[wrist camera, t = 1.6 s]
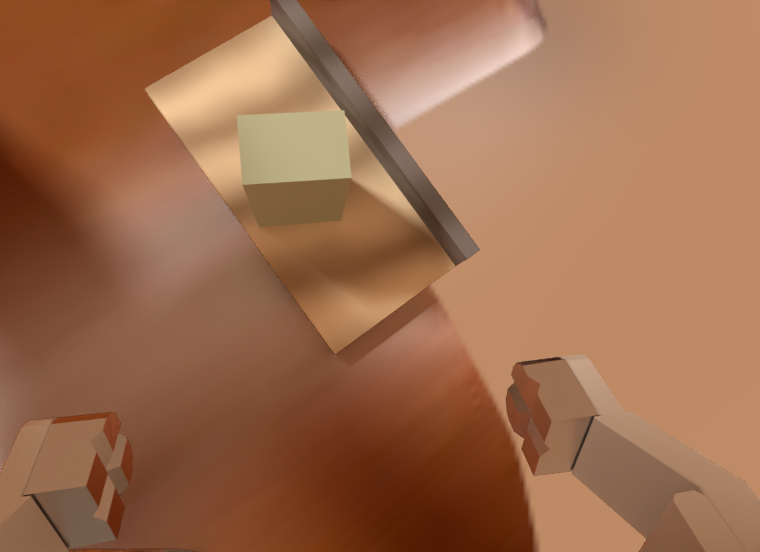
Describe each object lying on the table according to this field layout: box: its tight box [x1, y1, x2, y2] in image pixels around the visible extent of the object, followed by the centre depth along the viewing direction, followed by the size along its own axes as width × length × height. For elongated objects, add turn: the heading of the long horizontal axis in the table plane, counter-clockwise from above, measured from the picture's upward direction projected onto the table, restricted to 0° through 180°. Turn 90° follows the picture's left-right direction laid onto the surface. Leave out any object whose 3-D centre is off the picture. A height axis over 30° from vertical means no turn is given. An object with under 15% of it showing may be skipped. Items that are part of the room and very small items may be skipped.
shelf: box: [145, 0, 480, 354], centre depth 39 cm, size 24×13×4 cm, turn 36°
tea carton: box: [237, 110, 352, 227], centre depth 35 cm, size 4×6×10 cm
